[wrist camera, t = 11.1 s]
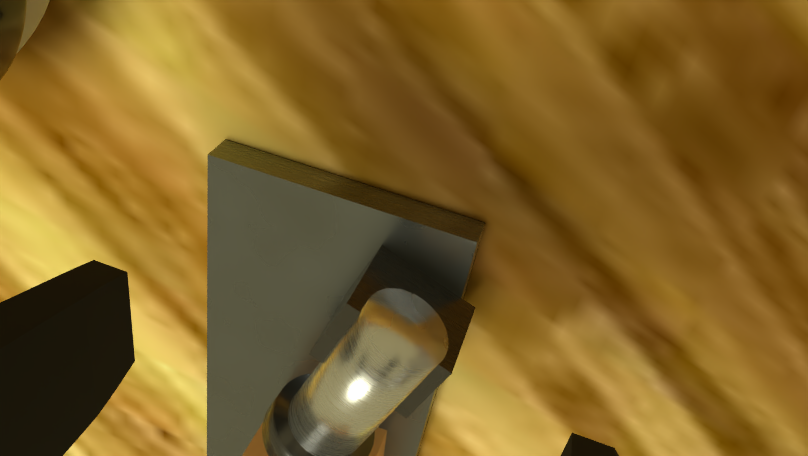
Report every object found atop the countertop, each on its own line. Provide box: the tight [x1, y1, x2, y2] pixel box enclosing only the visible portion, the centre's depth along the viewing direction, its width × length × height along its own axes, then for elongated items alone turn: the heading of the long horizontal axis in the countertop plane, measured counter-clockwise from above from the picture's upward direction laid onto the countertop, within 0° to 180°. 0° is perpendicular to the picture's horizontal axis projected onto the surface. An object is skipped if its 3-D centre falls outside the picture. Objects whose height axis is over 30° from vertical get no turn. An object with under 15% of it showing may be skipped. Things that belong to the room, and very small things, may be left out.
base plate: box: [207, 139, 485, 456], centre depth 27 cm, size 8×23×1 cm, turn 170°
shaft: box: [262, 245, 475, 456], centre depth 20 cm, size 6×3×4 cm, turn 150°
